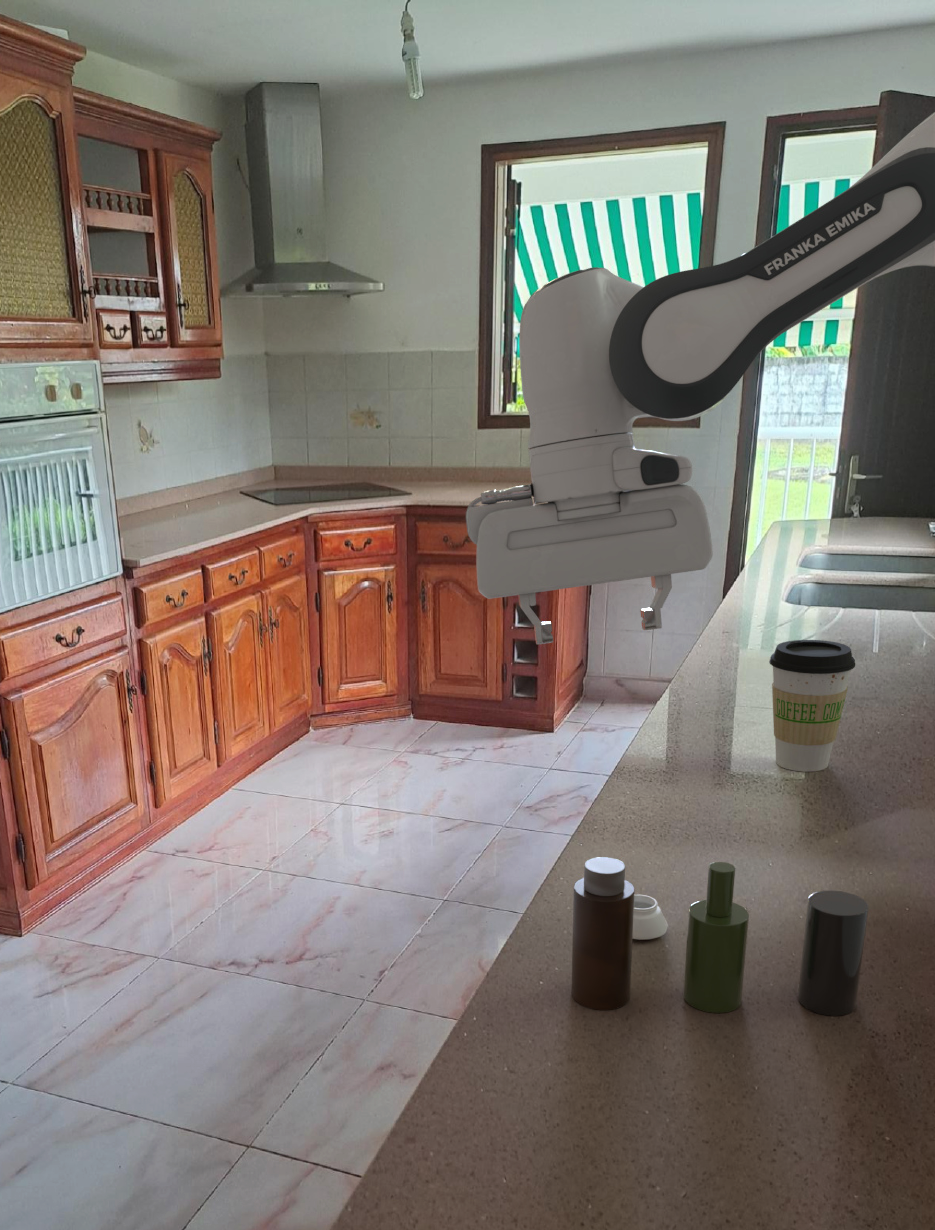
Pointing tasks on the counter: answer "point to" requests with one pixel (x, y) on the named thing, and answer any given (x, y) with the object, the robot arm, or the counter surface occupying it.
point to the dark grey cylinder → (832, 952)
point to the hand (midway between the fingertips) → (597, 636)
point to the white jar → (647, 918)
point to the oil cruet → (716, 945)
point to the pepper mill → (602, 935)
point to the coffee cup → (808, 700)
